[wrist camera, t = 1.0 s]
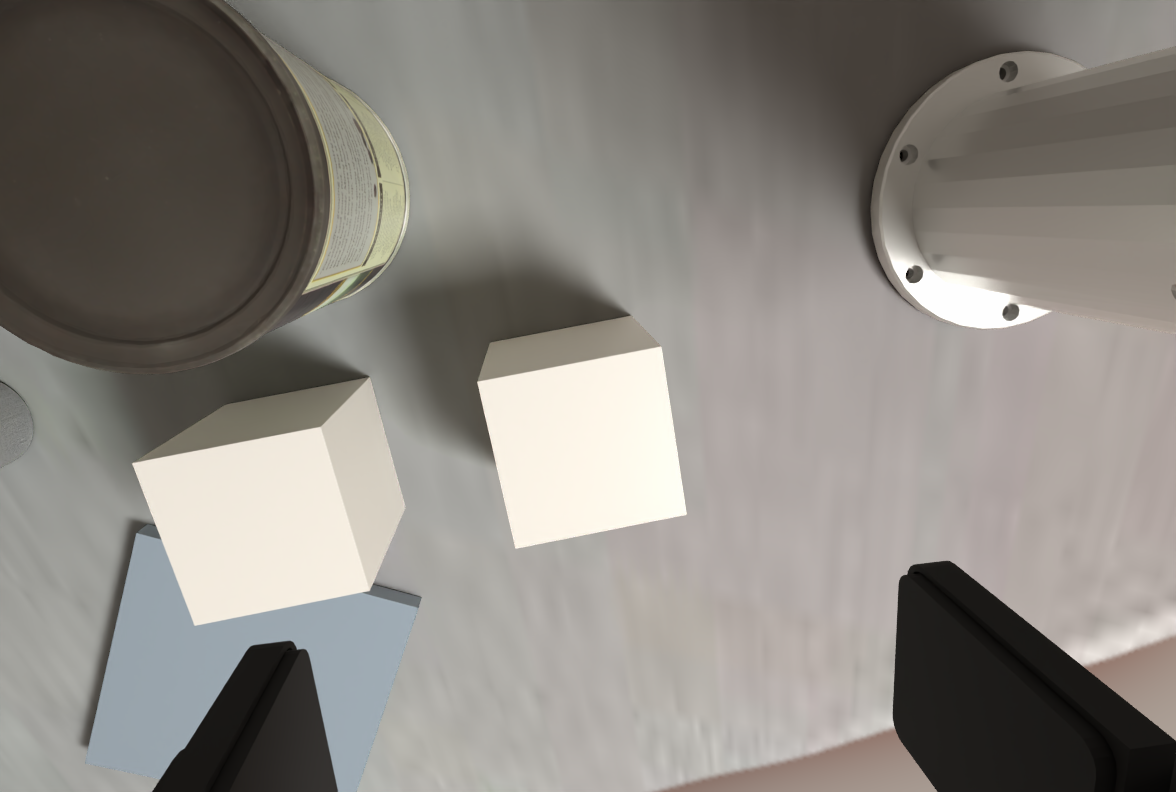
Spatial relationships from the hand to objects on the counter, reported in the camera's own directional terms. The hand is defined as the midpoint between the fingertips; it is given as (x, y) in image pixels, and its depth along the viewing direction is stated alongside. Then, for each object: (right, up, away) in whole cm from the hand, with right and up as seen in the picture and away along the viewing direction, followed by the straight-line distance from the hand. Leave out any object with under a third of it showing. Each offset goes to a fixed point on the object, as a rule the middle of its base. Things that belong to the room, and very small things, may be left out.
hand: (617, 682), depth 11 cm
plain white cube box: (-1, +4, +24) cm, 24 cm away
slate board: (-18, -11, +26) cm, 34 cm away
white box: (-14, +1, +23) cm, 27 cm away
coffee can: (-14, +14, +20) cm, 28 cm away
